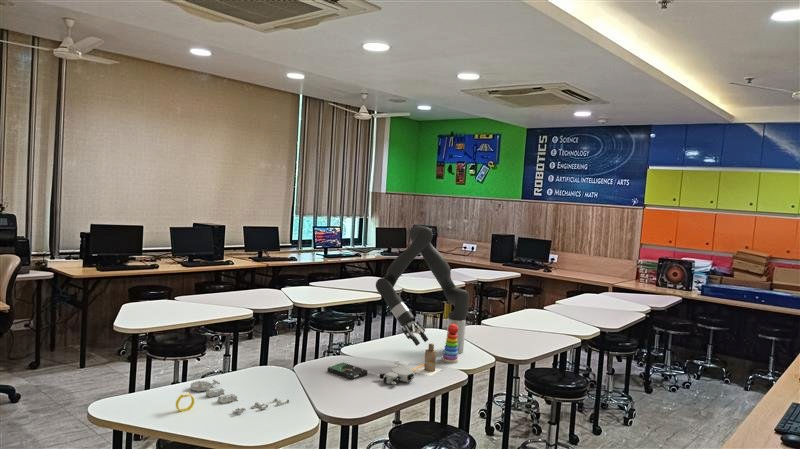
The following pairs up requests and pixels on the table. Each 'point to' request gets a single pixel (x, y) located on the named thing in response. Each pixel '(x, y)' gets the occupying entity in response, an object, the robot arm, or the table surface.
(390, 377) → the robot toy
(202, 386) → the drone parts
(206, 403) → the table surface
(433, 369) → the walnut skittle
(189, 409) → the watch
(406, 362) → the lane mat
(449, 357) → the stacking toy
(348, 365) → the disk drive
